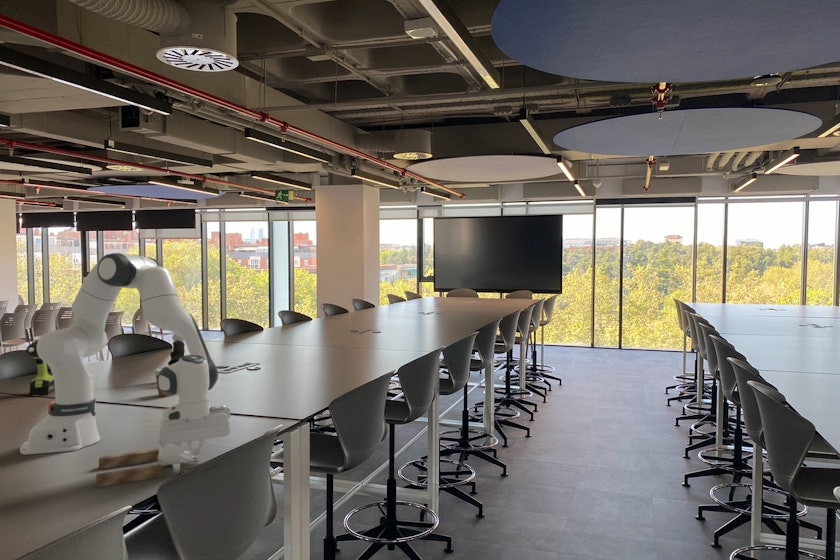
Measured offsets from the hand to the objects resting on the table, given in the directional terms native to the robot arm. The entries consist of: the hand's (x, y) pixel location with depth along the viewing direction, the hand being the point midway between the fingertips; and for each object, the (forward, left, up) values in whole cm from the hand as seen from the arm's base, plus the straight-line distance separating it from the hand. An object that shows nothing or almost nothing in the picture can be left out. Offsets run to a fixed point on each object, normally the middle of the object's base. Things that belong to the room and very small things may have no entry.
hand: (195, 454), depth 172 cm
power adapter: (-6, 0, -2) cm, 6 cm away
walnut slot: (-18, 0, -2) cm, 18 cm away
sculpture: (+4, +126, -2) cm, 126 cm away
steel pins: (-6, 0, -2) cm, 6 cm away
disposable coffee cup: (-3, +98, -2) cm, 98 cm away
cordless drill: (-54, +124, -2) cm, 135 cm away
